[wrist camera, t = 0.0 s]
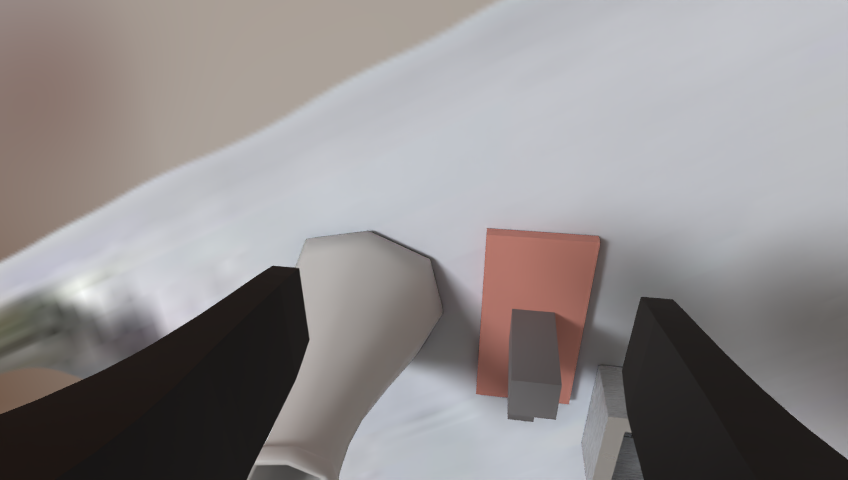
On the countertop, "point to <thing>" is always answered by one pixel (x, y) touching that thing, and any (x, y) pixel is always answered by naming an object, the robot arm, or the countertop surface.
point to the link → (609, 431)
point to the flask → (348, 348)
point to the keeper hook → (533, 317)
